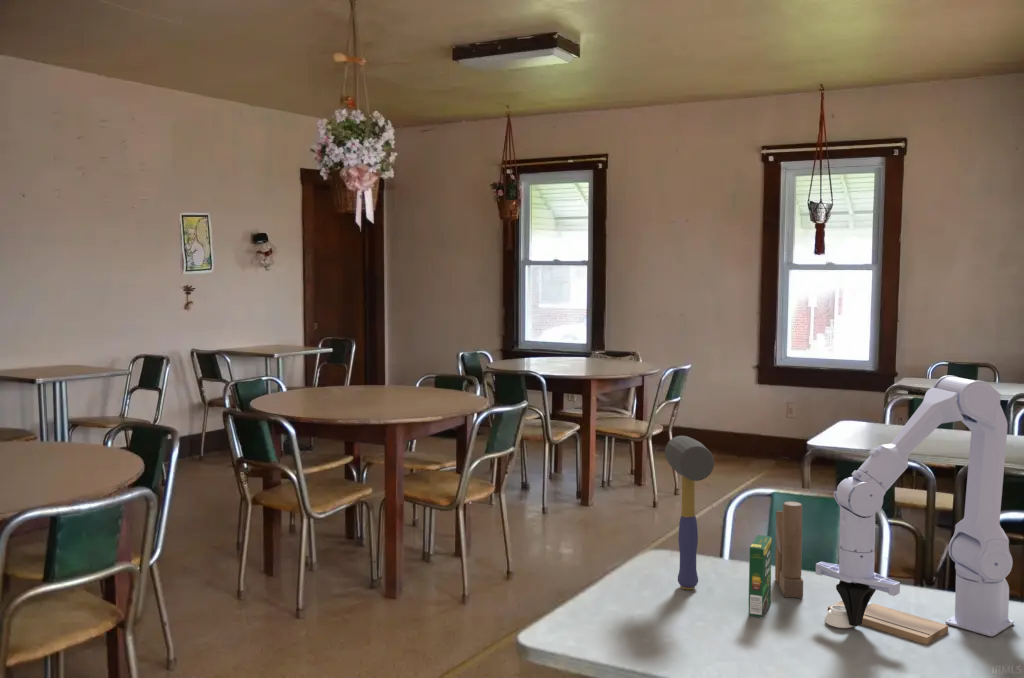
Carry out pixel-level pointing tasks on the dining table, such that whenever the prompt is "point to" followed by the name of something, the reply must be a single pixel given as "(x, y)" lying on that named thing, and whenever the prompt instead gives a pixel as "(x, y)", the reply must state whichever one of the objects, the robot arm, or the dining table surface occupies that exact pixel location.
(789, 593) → the wooden block
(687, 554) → the rubber mallet
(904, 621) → the board
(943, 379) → the robot arm
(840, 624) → the lidless jar
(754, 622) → the dining table surface
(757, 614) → the coffee box
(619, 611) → the dining table surface
